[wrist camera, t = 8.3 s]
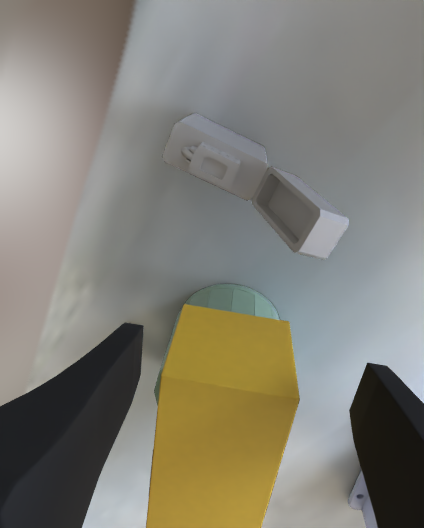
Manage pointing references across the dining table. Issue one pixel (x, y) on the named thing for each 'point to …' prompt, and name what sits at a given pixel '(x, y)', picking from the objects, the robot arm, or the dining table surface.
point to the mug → (226, 307)
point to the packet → (221, 420)
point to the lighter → (256, 184)
